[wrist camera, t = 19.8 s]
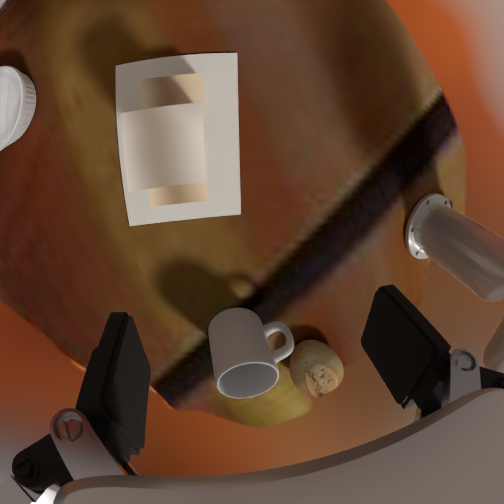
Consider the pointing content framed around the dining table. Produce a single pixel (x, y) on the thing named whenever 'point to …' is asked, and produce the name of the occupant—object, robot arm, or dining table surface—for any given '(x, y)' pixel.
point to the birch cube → (164, 146)
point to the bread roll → (315, 368)
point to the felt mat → (216, 133)
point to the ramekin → (15, 104)
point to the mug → (245, 352)
